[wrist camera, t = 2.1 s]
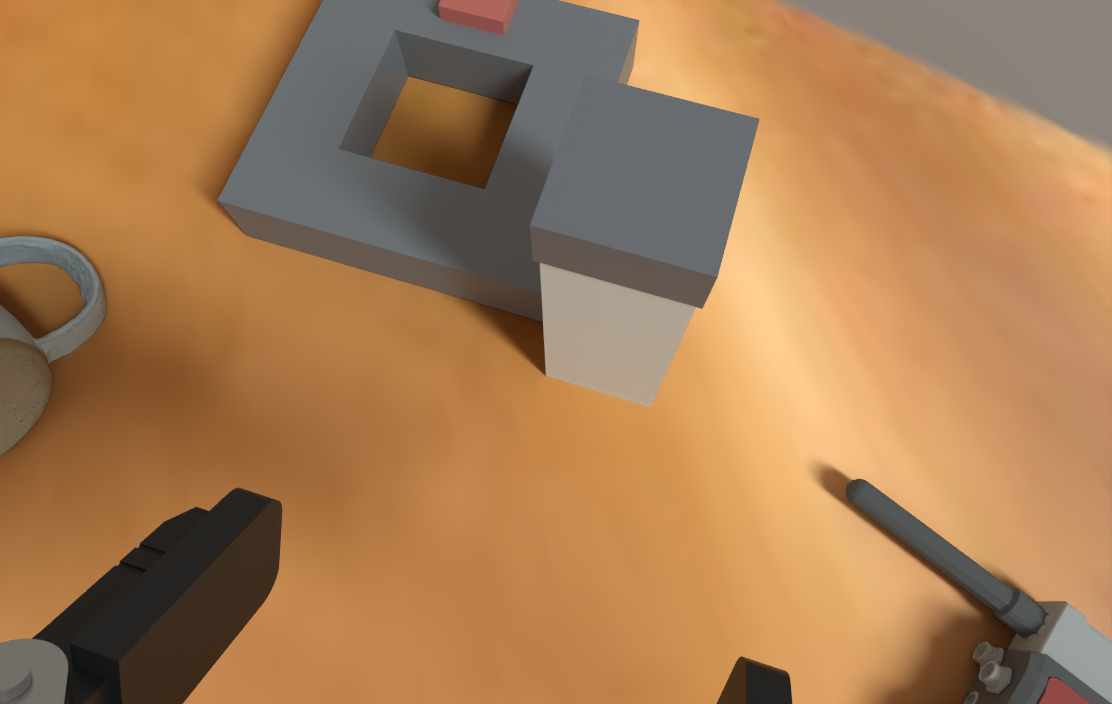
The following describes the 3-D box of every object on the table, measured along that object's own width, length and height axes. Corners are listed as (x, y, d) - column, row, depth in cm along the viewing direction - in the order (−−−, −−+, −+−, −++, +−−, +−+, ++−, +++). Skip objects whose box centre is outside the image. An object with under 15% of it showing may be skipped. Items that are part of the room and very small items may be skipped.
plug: (541, 378, 31) (529, 224, 18) (575, 277, 32) (584, 74, 20) (653, 411, 30) (717, 277, 18) (682, 308, 32) (759, 119, 19)
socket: (246, 235, 33) (208, 189, 29) (365, -1, 37) (345, -66, 34) (545, 322, 32) (543, 286, 28) (632, 66, 36) (641, 6, 32)
